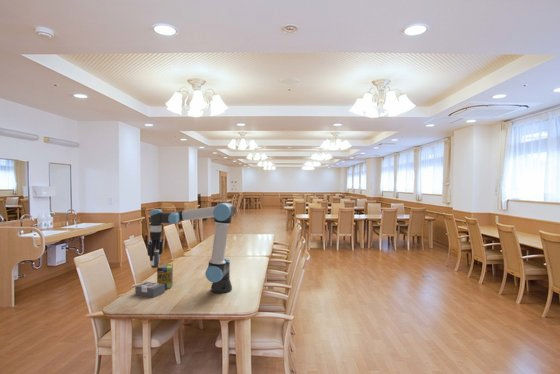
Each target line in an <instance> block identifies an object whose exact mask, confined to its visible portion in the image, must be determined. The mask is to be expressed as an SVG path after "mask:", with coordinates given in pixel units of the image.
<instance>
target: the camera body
mask: <svg viewBox="0 0 560 374" xmlns="http://www.w3.org/2000/svg"><path fill="white" fill-rule="evenodd" d="M134 289H135V290H134V293H135V296H141V297H147V298H152V299H153V298H156V297H158V296H160V295H162V294H165V293H166V292H165V284H159V283H157V282H151V281H150V282H149V281H146V280H145V281H144V282H143V283H140V284H138V285H135V286H134Z"/></svg>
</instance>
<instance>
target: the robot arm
mask: <svg viewBox="0 0 560 374" xmlns="http://www.w3.org/2000/svg"><path fill="white" fill-rule="evenodd" d="M235 213H236V207H235V205H234V204H233V203H232V202H228V201H227V202H220V203H218V204H216V205H215V206H209V207H201V208H191V209H185V210H177V211H171V212H163V210H162V209H157V208H156V209H151V210H150V213H149V214H150V215H149V216H150V217H149V218H150V219H149V220H150V225H149V231H150V232H149V237H150V239H149V241H147V242H146V243H147V256H148V257H149V261H150V262H149V265H150V266H151V265H152V266H154V256H153V255H154V250H155V249H157V250H159V259H158V265H159V264H161V262H160V261H161V260H160V259H161V255H162V253H164V252H163V250H164V249H163V248H164V247H163V246H164V245H163V244H164V239H163V238H161V237H162V226H163V225H162V224H171V225H174V224H178V223H179V222H185V221H192V220H200V219H201V220H202V219H207V218H214V219H213V222H214V224H215V227H214V236H213V242H212V243H213V244H212V250H211V258H210V259H209V260H208V263H207V264H208V266H207V268H206V270H205V272H204V274H205V277H206V279H207V280H208V281H209V282H211V287H210V292H212V293H216V294H225V292H226V293H229V292H231V291H232V290H233V285H232V283H231V279H230V278H231V277H230V275H231V274H230V268H231V267H230V266H231V265H230V264H231V262H230V259H229V258H227V257H225V254H226V246H227V241H228V240H227V239H228V230H229V226H230V225H231V224H232V218H233V216H234V215H235Z"/></svg>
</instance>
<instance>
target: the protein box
mask: <svg viewBox="0 0 560 374" xmlns="http://www.w3.org/2000/svg"><path fill="white" fill-rule="evenodd" d="M173 267H174V263H173V262H172V263H171V262H169V263H168V262H166V263H163V262H162V263H160V264H158V267H157V268H156V270H157V271H156V283H159V284H165V289H172V288H173V287H172V286H173V282H174V281H173V280H174V279H173V277H174V276H173V275H174V274H173V272H174V268H173Z"/></svg>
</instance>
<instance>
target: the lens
mask: <svg viewBox="0 0 560 374" xmlns="http://www.w3.org/2000/svg"><path fill="white" fill-rule="evenodd" d="M153 256H154V266H152V265H150V267H151V268H152V269H157V268H158V265H159V264H158V259H159V250H157V249H156V248H155V250H154V255H153Z"/></svg>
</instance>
